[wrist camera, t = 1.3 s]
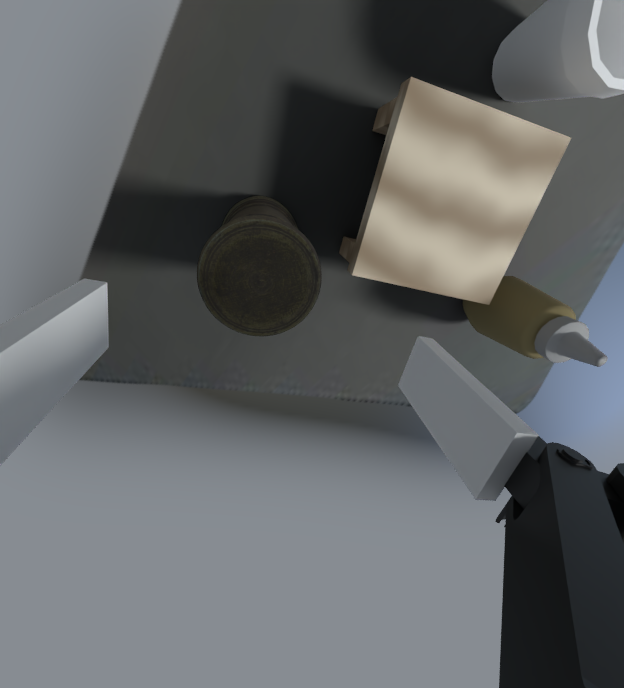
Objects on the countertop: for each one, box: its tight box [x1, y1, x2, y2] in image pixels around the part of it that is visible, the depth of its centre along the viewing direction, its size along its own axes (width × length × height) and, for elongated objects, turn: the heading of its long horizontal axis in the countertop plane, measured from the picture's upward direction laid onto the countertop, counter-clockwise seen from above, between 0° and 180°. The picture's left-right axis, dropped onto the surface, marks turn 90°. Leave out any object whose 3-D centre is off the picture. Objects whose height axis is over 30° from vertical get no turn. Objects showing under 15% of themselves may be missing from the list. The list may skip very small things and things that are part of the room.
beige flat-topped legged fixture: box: [339, 77, 571, 305], centre depth 35 cm, size 16×16×9 cm
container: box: [197, 196, 321, 336], centre depth 30 cm, size 9×9×18 cm
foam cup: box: [492, 0, 624, 102], centre depth 28 cm, size 10×9×13 cm
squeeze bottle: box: [463, 276, 607, 367], centre depth 37 cm, size 8×8×18 cm
